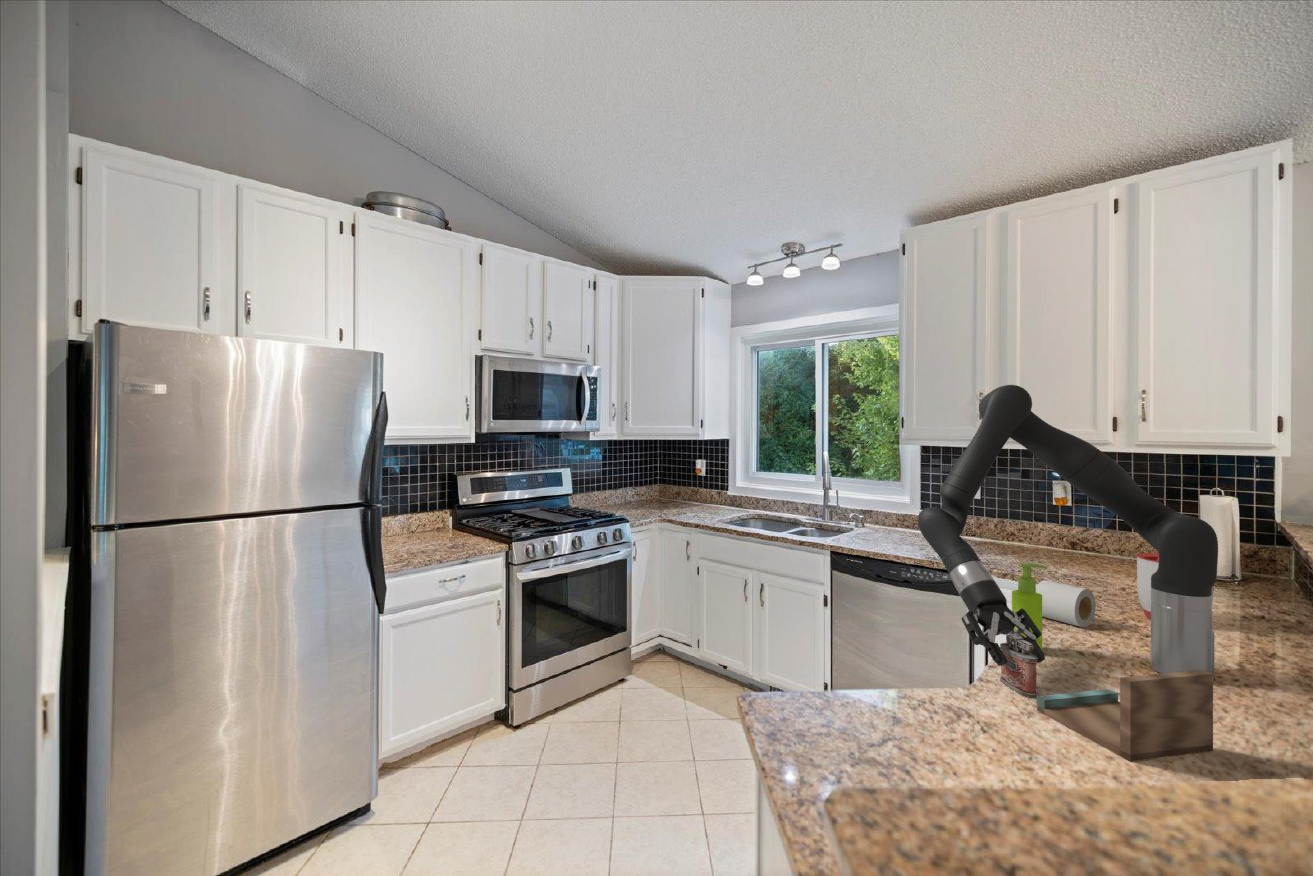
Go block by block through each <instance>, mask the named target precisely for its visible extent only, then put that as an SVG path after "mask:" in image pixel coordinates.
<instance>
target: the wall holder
mask: <svg viewBox="0 0 1313 876" xmlns="http://www.w3.org/2000/svg"><path fill="white" fill-rule="evenodd" d="M1036 710H1037V712H1039V713H1041V714H1043V715H1045V716H1046V717H1049V718H1050V719H1051V720H1053V721H1055V722H1057V723H1059V724H1061V725H1063V726H1064V727H1065V728H1068V729H1070V730H1072V731H1074V732H1076V733H1078V734H1079V735H1081V736H1082V737H1085V738H1086V739H1088V740H1090V741H1092V742H1094V743H1096V744H1097V745H1099V746H1101V747H1103V748H1105V749H1106V750H1108V751H1109V752H1111V753H1114V754H1115V755H1117V756H1119V757H1121V758H1123V759H1125V760H1126V761H1129V762H1130V763H1131V762H1138V761H1145V760H1146V761H1147V760H1154V759H1160V758H1168V757H1169V758H1170V757H1175V756H1176V757H1178V756H1184V755H1191V754H1192V755H1193V754H1197V753H1200V754H1201V753H1206V752H1213V751H1214V677H1213V674H1212V673H1209V672H1207V671H1204V670H1195V671H1185V672H1174V673H1163V674H1161V673H1155V674H1144V675H1134V676H1123V677H1120V678H1119V693H1118V691H1116V690H1112V689H1110V688H1108V689H1100V690H1090V691H1081V692H1080V691H1079V692H1069V693H1057V694H1048V695H1041V696H1039V695H1037V698H1036Z"/></svg>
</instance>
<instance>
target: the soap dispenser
mask: <svg viewBox="0 0 1313 876" xmlns="http://www.w3.org/2000/svg"><path fill="white" fill-rule="evenodd" d="M1018 566H1019V567H1021V568H1022V575H1020V576H1018V578H1017V586H1018V587H1017V589H1015V590H1012V591H1011V611H1012V612H1015V611H1018V610H1020V609H1024V610H1025V611H1026V612H1027V614H1028V615H1029V617H1030V618H1031V619H1032V621H1033V622H1034V624H1035V625H1036V626H1037V628H1038V629H1039V631H1040V632H1041V634H1042V635H1041V636H1040V637H1038V638H1037V639H1036V642H1037V644H1038V645H1039V647H1040V648H1041V650H1042V651H1043V617H1042V595H1041V594H1039V593H1036V587H1037V582H1036V581H1037V580H1036V578H1034V577H1033V576H1032V568H1037V569H1044V570H1047V569H1048V568H1049V567H1048V566H1046V565H1042V564H1039V563H1033V562H1025V563H1024V562H1019V563H1018ZM1016 629H1018V628H1017V627H1016V626H1015V628H1014V630H1016ZM1029 629H1030V631H1031V632H1032V633H1033V631H1032V630H1031V628H1029ZM1021 634H1022V633H1021ZM1022 635H1023V636H1024V637H1027V636H1025V635H1024V634H1022Z"/></svg>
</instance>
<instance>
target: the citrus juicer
mask: <svg viewBox="0 0 1313 876" xmlns="http://www.w3.org/2000/svg"><path fill="white" fill-rule="evenodd" d="M1135 557H1136V587H1137V588H1136V589H1137V596H1138V601H1139V602H1140V606H1141V610H1142V612H1143V614H1144V615H1145V617H1147V618H1149V619H1151V576H1152V574H1153V573H1155V572H1156V571H1157V569H1158V565H1159V553H1151V552H1150V553H1149V552H1142V553H1137V554H1135ZM1213 599H1214V586H1213V587H1212V603H1213V601H1214V600H1213Z"/></svg>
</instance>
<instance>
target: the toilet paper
mask: <svg viewBox="0 0 1313 876" xmlns="http://www.w3.org/2000/svg"><path fill="white" fill-rule="evenodd" d="M1036 593H1039V594H1041V595H1042V618H1047V619H1049V620H1054V621H1057V622H1061V623H1065V624H1069V625H1072V626H1076V627H1079V628H1083V627H1084V628H1087V627H1089V626H1091V624H1092V622H1093V620H1094V617H1095V614H1096V609H1097V607H1096V605H1097V602H1096V598H1095V596H1094V593H1093V591H1092V590H1091V589H1088V588H1085V587H1081V586H1080V587H1079V586H1075V585H1069V584H1064V583H1060V582H1056V581H1052V580H1051V581H1050V580H1045V579H1044V580H1042V581H1040V582H1039V583H1038V584H1037V585H1036Z"/></svg>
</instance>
